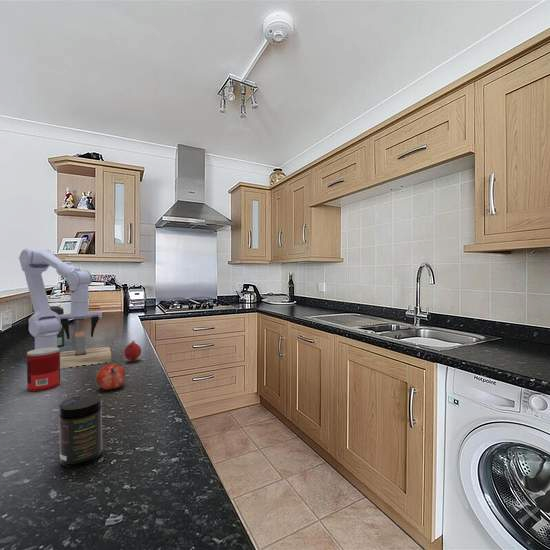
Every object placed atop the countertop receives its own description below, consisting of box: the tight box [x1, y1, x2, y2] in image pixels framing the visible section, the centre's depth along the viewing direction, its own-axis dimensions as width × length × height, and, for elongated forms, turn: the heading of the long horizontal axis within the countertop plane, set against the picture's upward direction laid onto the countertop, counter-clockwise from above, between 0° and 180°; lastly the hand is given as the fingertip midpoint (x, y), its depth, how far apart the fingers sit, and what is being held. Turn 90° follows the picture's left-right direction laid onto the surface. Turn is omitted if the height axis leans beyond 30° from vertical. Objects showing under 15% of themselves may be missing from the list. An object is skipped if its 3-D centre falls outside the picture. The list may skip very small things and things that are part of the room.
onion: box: [123, 340, 142, 362], centre depth 118 cm, size 6×6×8 cm
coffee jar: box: [49, 305, 65, 348], centre depth 145 cm, size 10×8×19 cm
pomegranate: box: [96, 363, 126, 391], centre depth 91 cm, size 7×7×10 cm
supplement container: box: [58, 394, 103, 468], centre depth 57 cm, size 7×7×10 cm
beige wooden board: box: [60, 346, 112, 370], centre depth 119 cm, size 14×20×3 cm
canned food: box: [26, 347, 61, 392], centre depth 93 cm, size 8×8×11 cm
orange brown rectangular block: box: [74, 330, 86, 354], centre depth 119 cm, size 5×3×7 cm, turn 31°
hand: (80, 337), depth 119 cm, fingers open, 7 cm apart
